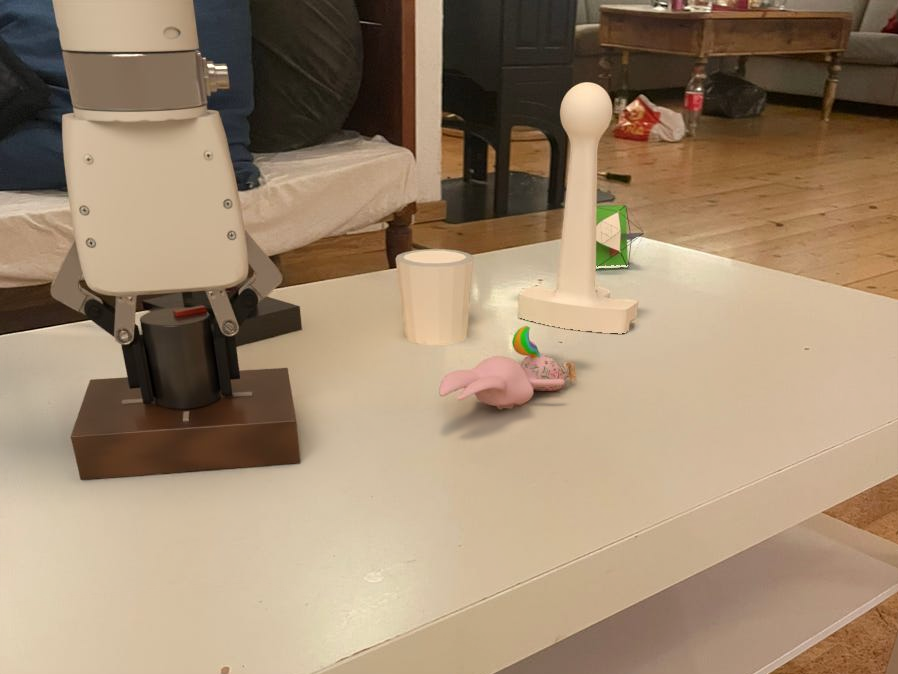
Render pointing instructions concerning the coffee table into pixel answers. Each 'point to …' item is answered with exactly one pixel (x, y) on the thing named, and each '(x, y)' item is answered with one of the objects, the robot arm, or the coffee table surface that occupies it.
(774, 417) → the coffee table surface
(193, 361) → the dial
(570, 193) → the joystick
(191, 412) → the panel
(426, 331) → the shot glass
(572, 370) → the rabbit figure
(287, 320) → the button box
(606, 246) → the geometric puzzle
